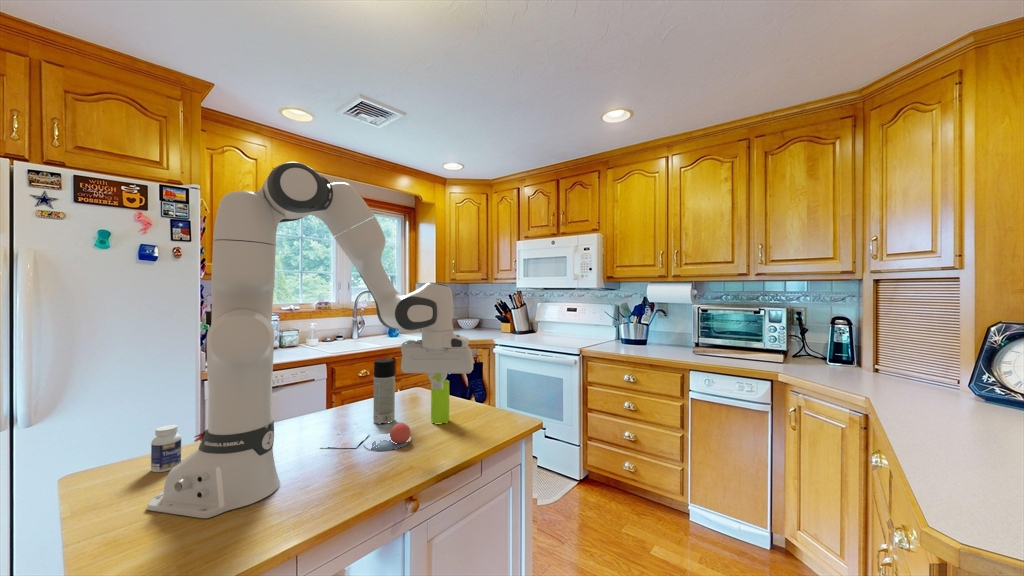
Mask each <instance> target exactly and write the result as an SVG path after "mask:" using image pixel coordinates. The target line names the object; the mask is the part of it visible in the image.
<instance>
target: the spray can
mask: <svg viewBox="0 0 1024 576" xmlns="http://www.w3.org/2000/svg"><path fill="white" fill-rule="evenodd" d="M395 364H396V361H395V359H392V358H380V359H376V360H374V363H373V413H372V414H373V417H372V419H373V423H374V422H375V423H374V424H376V423H387V424H389V423H388V422H390V423H392V422H394V421H395V417H396V416H395V415H396V413H395V411H396V409H395V407H396V406H395V404H396V403H395V402H396V401H395V400H396V399H395V398H396V391H395V390H396V389H395V388H396V372H395V371H396V366H395ZM393 420H394V421H393ZM391 421H392V422H391Z"/></svg>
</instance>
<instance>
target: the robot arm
mask: <svg viewBox="0 0 1024 576" xmlns="http://www.w3.org/2000/svg"><path fill="white" fill-rule="evenodd" d="M217 207H218V209H217V211H216V216H215V221H214V227H213V236H212V237H213V238H212V257H211V259H212V261H211V279H210V280H211V324H210V327H209V328H208V330H207V333H206V373H207V390H208V392H207V395H208V397H207V400H208V403H207V407H208V408H207V409H208V410H207V411H208V412H207V413H208V414H207V429H205V430H204V431H202V432H201V433H199V434H197V435H195V436H193V438H196V439H194V441H193V442H194V443H195V442H198V441H200V440H201V441H200V444H199V446H198V449H196V450H194V451H193V452H192V453H190V455H188V456H187V457H186V458H184V459H183V460H181V462H180V463H179V464H178V465H176V466H175V467H174V468H173V469H172V470H169V471H168V474H167V475H166V478H165V481H164V485H163V486H164V487H163V490H162V491H160V492H159V493H158V494H156V495H155V496H154V497H152V498H151V499H150V500H149V502H148V503H147V507H146V509H147V510H148V511H152V512H159V513H165V514H172V515H179V516H184V517H185V516H186V517H192V518H198V519H209V518H212V517H216V516H218V515H220V514H222V513H225V512H228V511H231V510H235V509H238V508H243V507H245V506H248V505H252V504H254V503H256V502H258V501H261V500H263V499H265V498H267V497H269V496H270V495H271V494H273V493H274V492H276V491H277V489H278V488H279V487H280V485H281V481H280V479H279V476H278V472H277V469H276V468H277V467H276V464H275V457H274V450H273V449H274V441H275V440H274V439H275V422H274V419H273V415H272V414H273V413H272V412H273V408H272V406H273V375H274V374H273V370H274V351H275V350H274V347H275V345H274V343H275V333H274V332H275V331H274V328H273V326H272V317H273V301H274V290H275V289H274V288H275V278H276V277H275V275H276V273H275V272H276V250H277V249H276V248H277V247H276V246H277V230H278V226H279V224H281V223H288V222H295V221H298V220H301V219H303V218H304V217H307V216H310V215H311V216H314V217H316V218H318V219H319V220H320V221H322V222H323V223H324V225H325V226H326V227H327V228H328V231H329V232H330V234H331V236H332V237H333V238H334V240H335V242H336V243H337V244H338V245H339V247H340V248H341V250H342V251H343V253H344V254H345V255H346V257H347V258H348V259H349V260H350V261H351V264H352V265H353V266H354V268H355V269H356V270H357V272H358V274H359V276H360V278H361V279H362V281H363V283H364V284H365V286H366V288H367V289H368V291H369V293H370V295H371V296H372V297H371V298H373V301H374V303H375V309H376V314H377V318H378V321H379V322H380V323H381V324H382V325H383V326H384V327H385V328H388V329H391V330H402V331H416V330H421V339H406V340H405V341H404V342H403V343H401V345H400V349H401V352H400V353H401V354H402V356H401V361H400V362H401V365H400V370H401V372H402V373H403V374H427V378H428V380H429V381H430V384H431V383H432V389H443V382H444V380H445V378H446V379H447V377H448V374H471V373H472V371H473V370H474V356H473V353H472V349H471V348H470V346H469V344H470V338H469V337H466V336H464V335H459V334H457V333H454V325H453V317H454V296H453V292H452V289H451V287H449V286H448V285H446V284H443V283H439V282H426V283H425V284H423V285H422V286H421V287H419V288H418V289H416V290H414V291H412V292H409V293H407V294H402V293H400V292H399V291H397V289H395V287H394V285H393V283H392V282H391V279H390V278H389V276H388V274H387V272H386V270H385V268H384V266H383V263H382V256H383V251H384V250H385V247H386V237H385V234H384V232H383V229H382V227H381V224H380V223H379V221H378V219H377V218H376V216H375V215H374V213H373V211H372V210H371V207H369V205H368V204H367V202H366V201H365V200H364V198H363V197H362V196H361V194H359V193H358V191H357V190H356V189H355V188H354V187H353V185H351V184H349V183H347V182H341V181H339V182H338V181H336V182H332V183H331V181H330V180H329V179H327V178H325V176H322V174H321V175H320V174H319V173H318V172H317V171H316V170H314V168H311V167H310V166H308V165H306V164H304V163H303V162H302V163H301V162H297V161H288V162H284V163H281V164H279V165H277V166H276V167H274V168H273V169H272V170H271V171H270V173H269V174H268V176H267V177H266V179H265V180H264V183H262V186H261V188H260V189H259V190H257V191H247V190H235V191H231V192H228V193H227V194H225V195H223V197H222V198H221V199H220V201H219V205H218V206H217ZM435 373H441V377H443V378H442V380H441V382H435Z"/></svg>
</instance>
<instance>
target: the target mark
mask: <svg viewBox="0 0 1024 576" xmlns="http://www.w3.org/2000/svg"><path fill="white" fill-rule="evenodd" d="M412 440H413V438H412V439H411V441H412ZM408 443H409V441H408V442H404V443H402V444H395V443H393V442H391V440H389V441H387V440H383V441H381V440H380V443H378V444H377V445H376V441H374V442H373V443H372V448H371V450H370V451H372V450H377V451H376V452H388V451H387V450H389V451H393V450H392V449H395V450H397V449H396V448H399V449H401V448H400V447H402V448H404V447H406V446H408V445H409V444H410V443H409V444H408ZM407 444H408V445H407ZM374 445H375V446H374ZM405 445H406V446H405ZM373 446H374V447H373ZM378 446H379V447H378ZM403 446H404V447H403ZM376 447H377V448H376Z"/></svg>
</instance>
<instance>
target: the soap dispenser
mask: <svg viewBox="0 0 1024 576" xmlns="http://www.w3.org/2000/svg"><path fill="white" fill-rule="evenodd" d="M442 378H443V377H441V373H434V380H435V382H441V380H442ZM430 396H431V397H430V422H433V423H446V422H448V421H449V422H450V380H448V379H447V377H446V378H445V380H444V382H443V389H432V383H431V382H430ZM449 422H448V423H449ZM446 424H447V423H446Z"/></svg>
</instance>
